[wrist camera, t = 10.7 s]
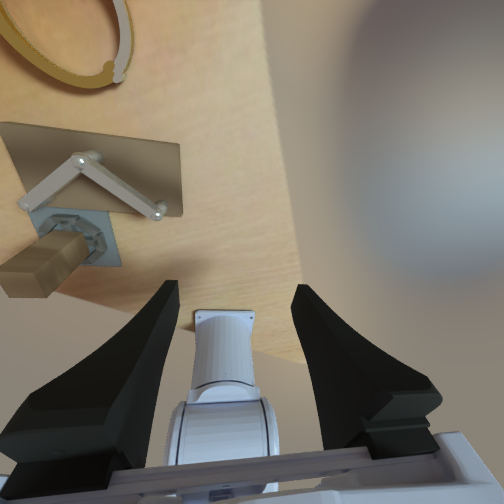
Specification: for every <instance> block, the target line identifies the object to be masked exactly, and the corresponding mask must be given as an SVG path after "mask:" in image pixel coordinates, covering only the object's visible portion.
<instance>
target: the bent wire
mask: <svg viewBox="0 0 504 504" xmlns="http://www.w3.org/2000/svg"><path fill="white" fill-rule="evenodd" d="M103 162H104V155H103V154H102V153H101V152H100V151H99V150H96V149H93V150H89V151H86V152H75V153H73V154H72V155H71V157H70V158H69V159H68V160H67V161H66V162H64V163H63V164H62V165H61V166H60V167H58V168H57V169H56V170H55V171H54V172H52V173H51V174H50V175H49V176H48V177H46V178H45V179H44V180H43V181H41V182H40V183H39V184H38V185H37V186H35V187H34V188H33V189H32V190H31V191H29V192H28V193H27V194H26V195H25V196H23V197H22V198H20V199H19V201H17V202H18V206H19V207H20V208H21V209H22V210H24V211H27V212H33V211H36V210H37V209H38V208H40V207H42V206H44V205H46V204H48V203H50V202H52V201H54V200H55V198H56V197H55V194H57V193H58V192H59V191H60V190H62V189H63V188H64V187H65V186H67V185H68V184H69V183H70V182H72V181H73V180H74V179H76V178H77V177H78V176H79V175H81V174H82V173H83V174H85V175H86V176H88V177H89V178H90V179H92V180H93V181H95V182H96V183H98V184H99V185H101V186H102V187H104V188H105V189H107V190H108V191H110V192H111V193H112V194H114V195H115V196H117V197H118V198H120V199H121V200H123V201H124V202H126V203H127V204H129V205H130V206H132V207H133V208H134V209H136V210H137V211H139V212H140V213H142V214H143V215H145V216H146V217H148V218H149V219H151V220H152V221H153V220H154V221H160V220H162V219H163V217H164V214H165V213H166V211H167V210H168V208H169V204H168V202H167V201H165V200H159V201H158V202H157V203H156V204H154V203H153V202H152V201H150V200H149V199H148V198H146V197H145V196H143V195H142V194H141V193H139V192H138V191H137V190H135V189H134V188H132V187H131V186H130V185H128V184H127V183H126V182H124V181H123V180H121V179H120V178H119V177H117V176H116V175H115V174H113V173H112V172H110V171H109V170H108V169H106V168H105V167H104V166H102V165H101V163H103Z"/></svg>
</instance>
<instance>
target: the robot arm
mask: <svg viewBox="0 0 504 504" xmlns="http://www.w3.org/2000/svg"><path fill="white" fill-rule="evenodd" d="M179 307H180V302H179V289H178V280H166V281H165V282H164V283H163V284H162V286H161V287H160V288H159V290H158V291H157V292H156V293H155V294H154V296H153V297H152V298H151V299H150V300H149V301H148V303H147V304H146V305H145V306H144V307H143V308H142V309H141V310H140V311H139V312H138V313H137V314H136V315H135V316H134V317H133V318H132V319H131V320H130V321H129V322H128V323H127V324H126V325H125V326H124V327H123V328H122V329H121V330H120V331H119V332H117V333H116V334H115V335H114V336H113V337H112V338H110V339H109V340H108V341H107V342H106V343H104V344H103V345H102V346H101V347H100V348H98V349H97V350H96V351H94V352H93V353H92V354H90V355H89V356H87V357H86V358H85V359H83V360H82V361H80V362H79V363H78V364H76V365H75V366H73V367H72V368H70V369H69V370H68V371H66V372H65V373H63V374H62V375H60V376H58V377H57V378H55V379H54V380H52V381H51V382H49V383H47V384H46V385H44V386H43V387H41V388H39V389H38V390H36V391H34V392H33V393H31V394H29V396H28V397H27V398H26V400H25V401H24V402H23V403H22V404H21V406H20V407H19V408H18V410H17V411H16V413H15V414H14V415H13V417H12V418H11V420H10V421H9V422H8V424H7V425H6V427H5V428H4V430H3V431H2V433H1V434H0V452H1V453H3V454H4V455H6V456H8V457H9V458H11V459H12V460H14V461H16V462H17V465H16V467H15V468H14V470H13V472H12V473H11V475H5V474H0V504H504V490H503V489H502V487H501V486H500V484H499V483H498V482H497V480H496V479H495V478H494V476H493V475H492V474H491V472H490V471H489V470H488V468H487V467H486V466H485V464H484V463H483V461H482V460H481V459H480V457H479V456H478V455H477V453H476V452H475V451H474V449H473V448H472V446H471V445H470V444H469V443H468V441H467V440H466V439H465V437H464V436H463V434H462V433H461V432H459V431H454V432H444V433H437V434H434V435H432V434H431V433H430V431H429V430H428V428H427V427H430V423H429V422H428V420H427V419H426V417H425V416H426V415H427V414H429V413H430V412H431V411H433V410H434V409H436V408H437V407H438V406H439V405H440V404H441V403H442V396H441V394H440V393H439V392H438V391H437V389H436V388H435V386H434V385H433V384H432V382H431V381H430V380H429V378H428V377H427V376H425V375H423V374H421V373H420V372H418V371H416V370H414V369H412V368H411V367H409V366H407V365H405V364H403V363H402V362H400V361H398V360H397V359H395V358H394V357H392V356H390V355H388V354H387V353H386V352H384V351H382V350H381V349H380V348H378V347H377V346H375V345H374V344H372V343H371V342H370V341H368V340H367V339H365V338H364V337H363V336H361V335H360V334H359V333H358V332H356V331H355V330H354V329H353V328H351V327H350V326H349V325H348V324H347V323H345V321H343V320H342V319H341V318H340V317H339V316H338V315H337V314H336V313H335V312H334V311H333V310H332V309H331V308H330V307H329V306H328V305H326V303H325V302H324V301H323V300H322V299H321V298H320V297H319V296H318V295H317V294H316V293H315V292H314V291H313V290H312V289H311V288H310V287H309V286H308V285H306V284H298V286H297V289H296V292H295V295H294V298H293V301H292V304H291V312H292V317H293V322H294V325H295V328H296V331H297V334H298V337H299V340H300V343H301V346H302V349H303V352H304V355H305V358H306V361H307V364H308V369H309V373H310V377H311V381H312V386H313V391H314V395H315V400H316V405H317V411H318V416H319V422H320V428H321V435H322V441H323V448H324V451H314V452H303V453H293V454H283V455H279V437H278V429H277V422H276V417H275V413H274V410H273V407H272V405H271V404H270V403H269V401H268V400H267V398H265V397H260V391H259V387H255V381H254V370H253V361H252V351H251V341H250V337H251V332H252V327H253V323H254V318H255V312H254V311H218V310H198V311H196V312H195V335H196V353H195V361H194V368H193V376H192V384H191V390H188V395H187V402H186V401H181V402H180V403H179V405H178V406H177V407H176V408H175V409H174V410H173V413H172V416H171V419H170V423H169V428H168V433H167V439H166V445H165V452H164V461H163V466H162V467H151V468H144V467H145V463H146V457H147V451H148V446H149V440H150V434H151V428H152V422H153V417H154V411H155V406H156V401H157V396H158V390H159V386H160V381H161V376H162V371H163V366H164V363H165V359H166V356H167V353H168V349H169V346H170V343H171V340H172V336H173V333H174V330H175V326H176V323H177V318H178V313H179ZM327 476H330V477H327ZM319 477H327V478H323V479H322V480H321V483H320V484H319V485H318V486H316V487H315V488H307V489H295V490H284V491H278V482H285V481H293V480H301V479H310V478H319Z"/></svg>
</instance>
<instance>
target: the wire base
mask: <svg viewBox="0 0 504 504" xmlns="http://www.w3.org/2000/svg"><path fill="white" fill-rule="evenodd" d="M0 134H1V136H2V138H3V141H4V143H5V145H6V147H7V150H8V152H9V154H10V156H11V158H12V161H13V163H14V165H15V167H16V169H17V172H18V174H19V176H20V178H21V181H22V183H23V185H24V187H25V189H26V192H27V193H28V192H29V191H31V190H32V189H33V188H34V187H35V186H37V185H38V184H39V183H40V182H41V181H43V180H44V179H45V178H46V177H48V176H49V175H50V174H51V173H52V172H54V171H55V170H56V169H57V168H58V167H60V166H61V165H62V164H63V163H64V162H66V161H67V160H68V159H69V158H70V157H71V155H72V154H73V153H75V152H86V151H89V150H93V149H96V150H99V151H100V152H101V153H102V154H103V155H104V162H103V163H101V165H102V166H104V167H105V168H106V169H108V170H109V171H110V172H112V173H113V174H115V175H116V176H117V177H119V178H120V179H121V180H123V181H124V182H126V183H127V184H128V185H130V186H131V187H132V188H134V189H135V190H137V191H138V192H139V193H141V194H142V195H143V196H145V197H146V198H148V199H149V200H150V201H152V202H153V203H154V204H156V203H157V202H158V201H159V200H165V201H167V202H168V204H169V208H168V210H167V211H166V213H165V214H164V216H176V217H181V216H182V214H183V204H182V184H181V163H180V144H177V143H169V142H162V141H154V140H146V139H138V138H131V137H123V136H115V135H108V134H100V133H92V132H84V131H77V130H69V129H61V128H54V127H46V126H38V125H30V124H23V123H15V122H0ZM55 197H56V198H55V200H54V201H52V202H50V203H48V204H46V205H44V206H48V207H61V208H73V209H86V210H99V211H112V212H125V213H138V214H142V213H140V212H139V211H137V210H136V209H134V208H133V207H132V206H130V205H129V204H127V203H126V202H124V201H123V200H121V199H120V198H118V197H117V196H115V195H114V194H112V193H111V192H110V191H108V190H107V189H105V188H104V187H102V186H101V185H99V184H98V183H96V182H95V181H93V180H92V179H90V178H89V177H88V176H86V175H85V174H83V173H82V174H81V175H79V176H78V177H77V178H76V179H74V180H73V181H72V182H70V183H69V184H68V185H67V186H65V187H64V188H63V189H62V190H60V191H59V192H58V193H57V194H55Z"/></svg>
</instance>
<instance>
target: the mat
mask: <svg viewBox="0 0 504 504" xmlns="http://www.w3.org/2000/svg"><path fill="white" fill-rule="evenodd" d="M57 213H59V214H72V215H79V216H80V218H81V217H82V216H83V217H84V218H86V219H87V220H89V221H90V222H91V223H93V224H94V225H96V226H97V227H98V228H100V229H101V231H100V232H103V233H104V236H105V240H106V243H107V247H108V248H107V249H106V250H107V251H106V252H105V253H104V254H103V255H102V256H101V257H100V258H99V259H98V260H97V261H96V262H95V263H92V264H79V265H84V266H109V267H121V261H120V257H119V253H118V249H117V245H116V241H115V237H114V233H113V229H112V225H111V221H110V218H109V214H108V211H99V210H86V209H73V208H61V207H48V206H42V207H40V208H38V209H37V210H36V211H33V212H28V214H29V216H30V218H31V221H32V223H33V225H34V227H35V229H36V231H37V233H38V231H39V230H38V229H39V227H40V226H41V225H42V224H43V223H44V222H45V221H46V220H47V218H48V217H50V216H52V215H53V214H54V215H55V214H57ZM77 229H78V232H83V234H84V236H90V235H89V234H88V233H86V232H85V231H83V230H82V229H80V228H79V227H77ZM53 230H60V231H64V230H63V227H62V225H61V224H58V225H57V226H56V227H55V228H54V229H53ZM53 230H52V231H53ZM38 235H39V234H38ZM39 237H40V236H39ZM40 239H41V238H40ZM88 249H89V252H90V254H89V255H91V254H92V253H93V252H95V251H96V248H95V247H93V246H88Z"/></svg>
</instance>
